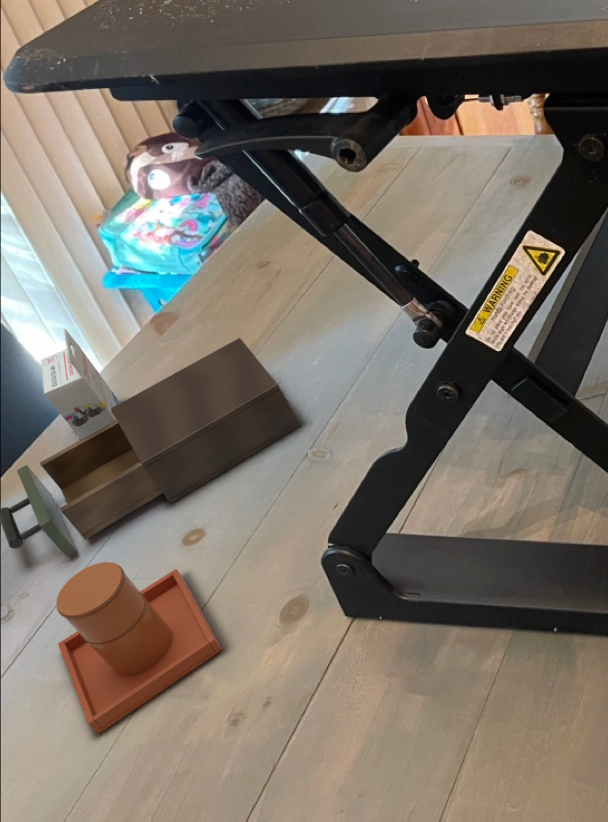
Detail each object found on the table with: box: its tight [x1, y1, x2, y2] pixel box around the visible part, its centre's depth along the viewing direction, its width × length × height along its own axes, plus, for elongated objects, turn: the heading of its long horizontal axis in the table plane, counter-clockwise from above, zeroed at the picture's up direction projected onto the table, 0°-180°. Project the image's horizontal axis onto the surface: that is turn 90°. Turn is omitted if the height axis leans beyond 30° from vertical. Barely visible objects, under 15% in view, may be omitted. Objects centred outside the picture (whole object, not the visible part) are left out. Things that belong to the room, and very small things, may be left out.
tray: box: [57, 568, 223, 735], centre depth 114 cm, size 13×13×2 cm
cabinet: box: [111, 337, 302, 504], centre depth 138 cm, size 18×14×8 cm
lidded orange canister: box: [55, 561, 172, 676], centre depth 111 cm, size 7×7×11 cm
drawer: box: [0, 420, 163, 557], centre depth 131 cm, size 21×13×6 cm, turn 130°
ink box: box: [40, 328, 121, 440], centre depth 141 cm, size 8×5×15 cm, turn 31°
